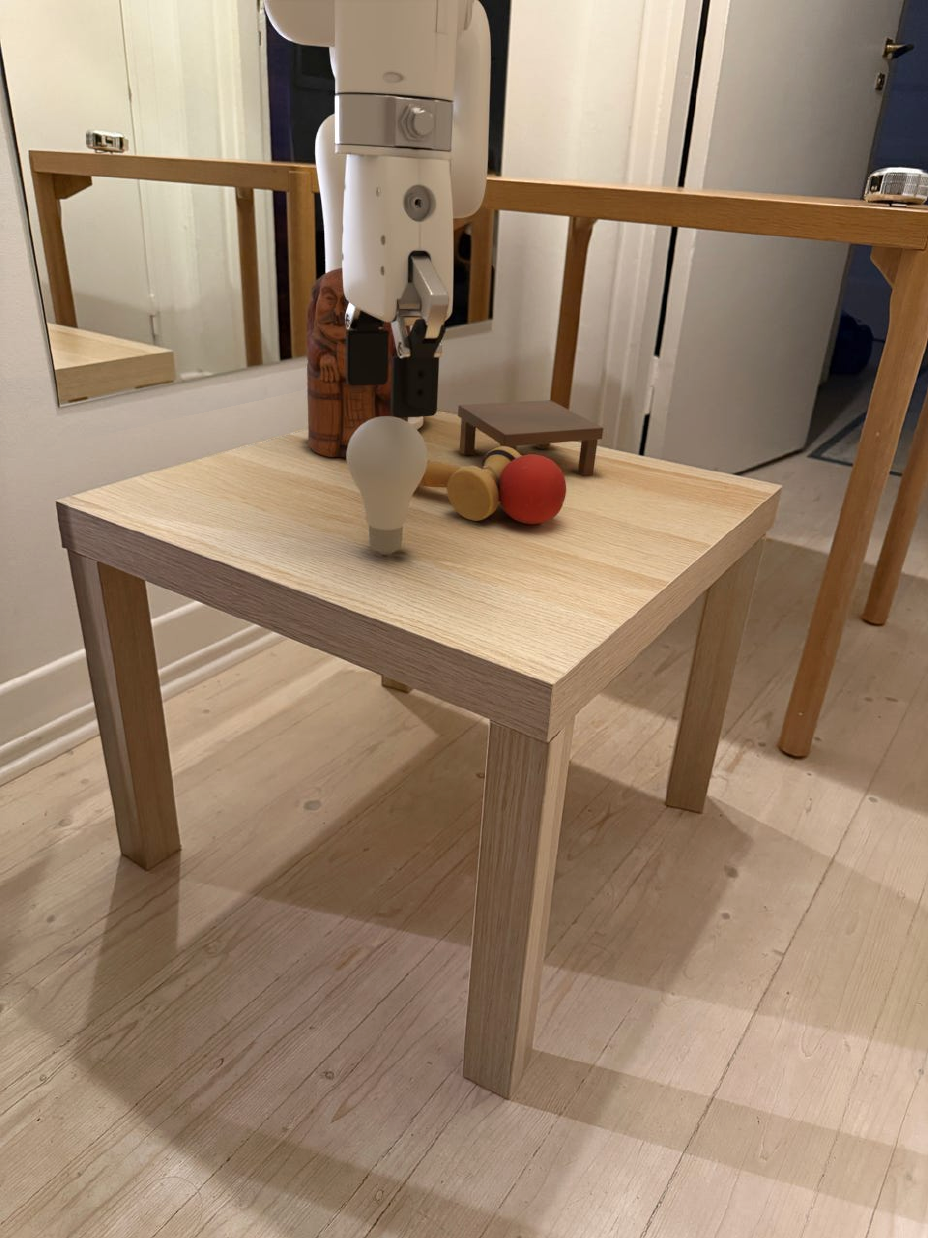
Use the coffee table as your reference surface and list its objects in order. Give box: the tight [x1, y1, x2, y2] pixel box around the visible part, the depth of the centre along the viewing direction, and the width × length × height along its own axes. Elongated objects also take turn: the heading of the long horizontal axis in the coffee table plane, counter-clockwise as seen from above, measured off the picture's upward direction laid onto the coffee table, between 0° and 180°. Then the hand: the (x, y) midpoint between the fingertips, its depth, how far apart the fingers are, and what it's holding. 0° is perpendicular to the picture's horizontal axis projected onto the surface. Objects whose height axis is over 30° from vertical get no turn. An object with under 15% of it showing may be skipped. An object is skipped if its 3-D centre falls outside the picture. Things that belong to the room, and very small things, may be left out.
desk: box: [457, 399, 604, 476], centre depth 94 cm, size 11×11×5 cm
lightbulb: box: [346, 416, 429, 556], centre depth 70 cm, size 6×6×11 cm
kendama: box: [418, 446, 567, 525], centre depth 82 cm, size 8×6×18 cm
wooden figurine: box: [305, 268, 410, 460], centre depth 91 cm, size 12×6×18 cm, turn 75°
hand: (388, 398), depth 66 cm, fingers open, 9 cm apart
